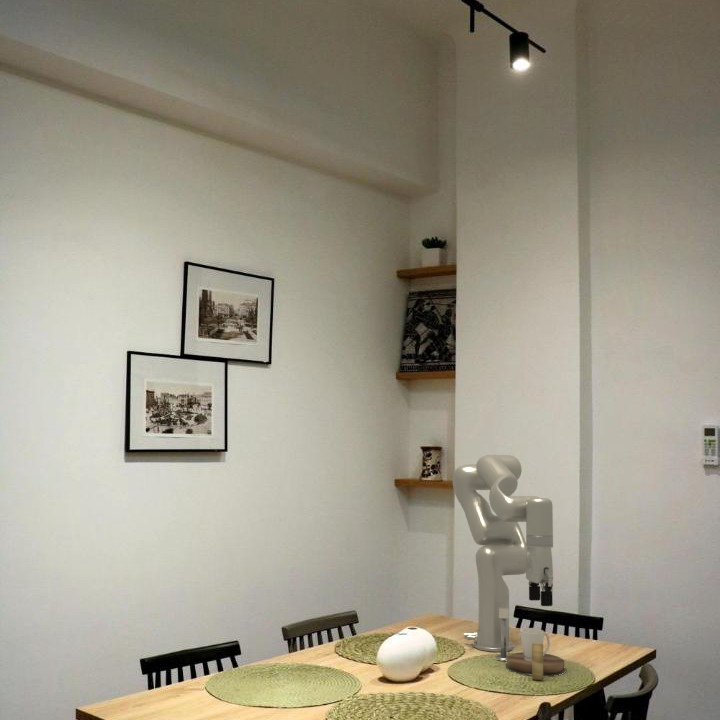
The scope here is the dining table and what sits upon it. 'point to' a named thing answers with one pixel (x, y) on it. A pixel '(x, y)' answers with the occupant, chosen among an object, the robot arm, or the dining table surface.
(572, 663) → the dining table surface
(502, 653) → the gauge post
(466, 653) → the dining table surface
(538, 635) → the cup
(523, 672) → the turntable base
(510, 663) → the turntable
